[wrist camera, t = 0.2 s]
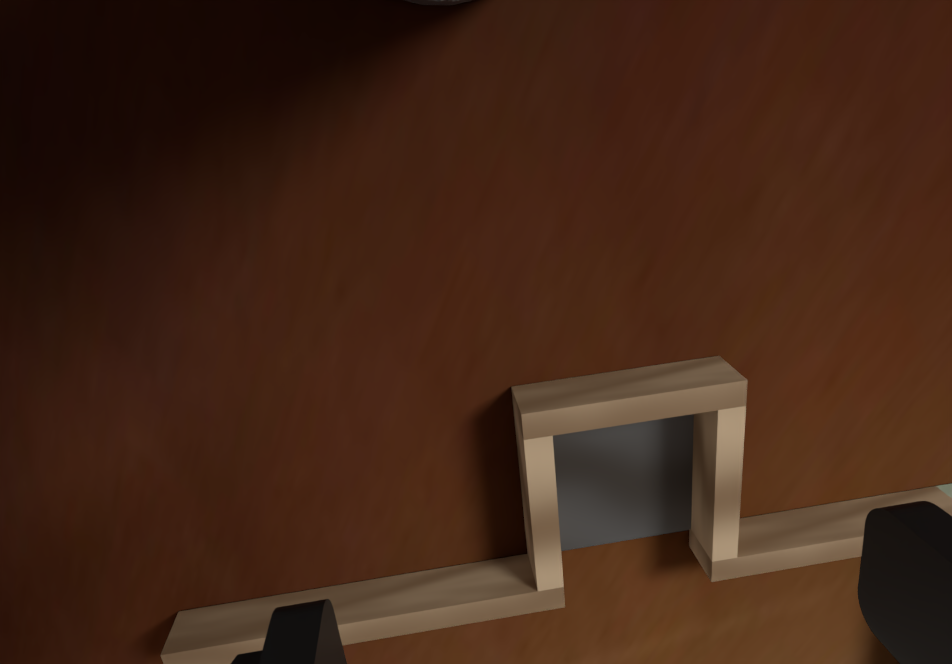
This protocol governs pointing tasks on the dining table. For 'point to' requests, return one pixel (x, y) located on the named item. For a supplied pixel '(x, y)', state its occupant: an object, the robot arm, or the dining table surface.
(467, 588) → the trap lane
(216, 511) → the dining table surface
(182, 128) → the dining table surface
